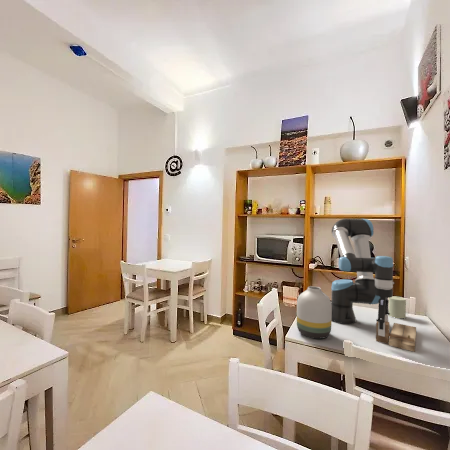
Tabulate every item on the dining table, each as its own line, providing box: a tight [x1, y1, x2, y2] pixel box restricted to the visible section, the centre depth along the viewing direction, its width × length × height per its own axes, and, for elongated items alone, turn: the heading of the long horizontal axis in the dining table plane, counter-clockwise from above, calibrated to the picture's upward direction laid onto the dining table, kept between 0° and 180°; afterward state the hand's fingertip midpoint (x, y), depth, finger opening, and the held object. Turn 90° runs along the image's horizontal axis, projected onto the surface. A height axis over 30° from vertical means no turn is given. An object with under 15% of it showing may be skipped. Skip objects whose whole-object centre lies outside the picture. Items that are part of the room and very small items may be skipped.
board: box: [388, 322, 417, 352], centre depth 132 cm, size 10×28×3 cm, turn 143°
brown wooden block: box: [375, 321, 414, 345], centre depth 126 cm, size 15×5×9 cm, turn 53°
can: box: [388, 295, 407, 319], centre depth 164 cm, size 9×9×12 cm
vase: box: [296, 285, 333, 340], centre depth 135 cm, size 17×17×24 cm
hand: (383, 331), depth 129 cm, fingers open, 13 cm apart
